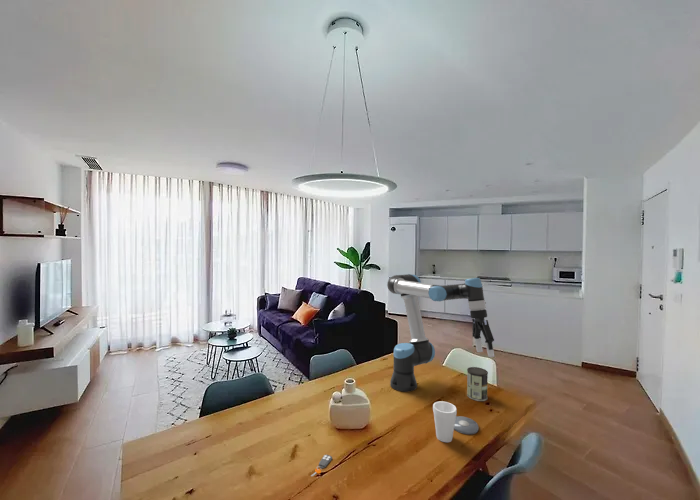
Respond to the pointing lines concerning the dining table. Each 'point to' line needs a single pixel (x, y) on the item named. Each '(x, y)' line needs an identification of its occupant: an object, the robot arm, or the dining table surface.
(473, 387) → the coffee can
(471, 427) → the trivet
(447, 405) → the foam cup
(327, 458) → the key chain
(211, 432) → the dining table surface
